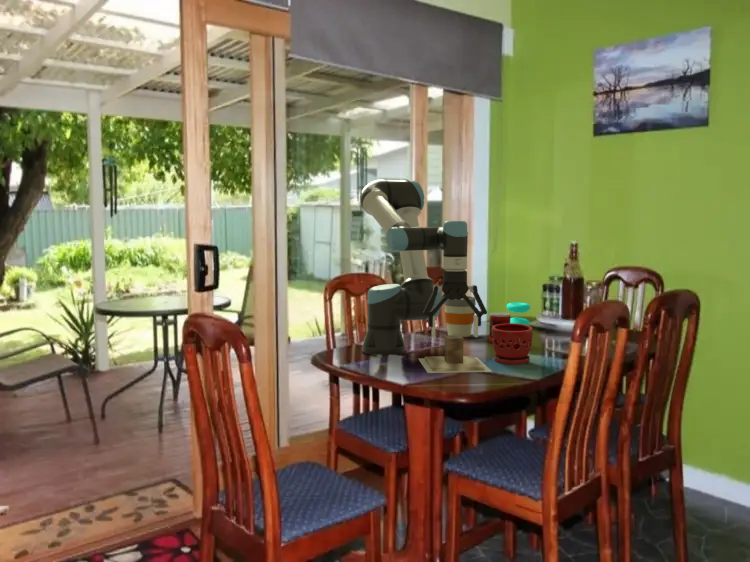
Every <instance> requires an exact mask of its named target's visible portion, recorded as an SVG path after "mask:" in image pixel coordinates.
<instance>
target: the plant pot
mask: <svg viewBox="0 0 750 562" xmlns="http://www.w3.org/2000/svg"><path fill="white" fill-rule="evenodd" d="M533 333H534V331H533V327H532V326H530V325H529V326H528V325H524V324H512V323H507V324H497V325H494V326H493V327H492V343H491V344H492V348H493V350H494V352H495V354H494V355H493V359H494V361H496V362H497V363H500V364H503V365H523V364H527V363H528V362H530V360H531V356H530V355H529V353H530V352H531V349H532V344H533V335H534V334H533ZM497 341H498V342H497Z"/></svg>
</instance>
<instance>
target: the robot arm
mask: <svg viewBox="0 0 750 562" xmlns="http://www.w3.org/2000/svg"><path fill="white" fill-rule="evenodd" d="M359 197H360V198H359V201H360V206H361V208H362V209H363V210H364V212H365V213H366V214H367V215H369V216H372V217H373V219H374V220H375V222H377V224H378V225H379V226H380V227H381V229H383V231H384V232H385V233H386V236H385V241H386V245H387V248H388V249H389V250H390V251H395V252H399V255H400V256H399V257H400V261H401V268H402V273H403V280H404V281H402V283H401V285H400V284H399V283H391V284H390V283H387V284H380V285H375V286H373V287H371V288H369V290H368V291H367V300H366V304H367V306H366V307H367V327H366V328H367V330H366V333H365V336H364V338H363V339H364V340H363V343H362V348H361V349H362V353H363V354H367V355H371V356H379V355H380V356H388V355H389V356H392V355H400V354H403V353H405V352H406V343H405V340H404V337H403V334H402V329H401V325H402V324H401V323H402V322H407V321H408V322H409V321H427V320H428V323H427V325H428V326H429V328H431V338H432V339H436V319H437V317H438V316H439V314H440V313H441V310H442V307H443V306H444V302H445V301H447V299H450V300H454V299H457V300H460V299H462V298H463V299H464V300H465V302H466V303H467V304H468V305H469V306H470V308H471V309H472V310H473V311H474V312H475V315H474V322H473V336H474V338H478V337H479V327H481V326H482V316H484V315H487V314H488V311H487V309H486V307H485V305H484V302H483V299H482V298H481V296H480V294H479V293H478V291H479V290H478V286H477V285H475V284H472V285H468V271H467V269H468V243H469V241H468V239H469V238H468V237H469V232H468V222H467V221H465V220H464V221H463V220H445V221H444V222H443V226H430V227H429V226H424V227H423V226H420V225H419V224H420V223H419V219H418V217H419V216H420V214H421V211H422V210H423V208H424V206H425V193H424V190H423V188H422V186H421V184H420V183H419V182H418V181H416V180H409V179H400V180H399V179H376V180H373V181H370V182H369V183H367V185H365V186H364V187H363V189H362V191H361V193H360V196H359ZM424 251H442V252H443V253H442V254H443V255H442V256H443V257H442V258H443V259H442V260H443V262H442V263H443V264H442V266H443V267H442V268H443V272H442V279H443V280H442V286H437V285H435V284H434V280H433V278H431V277H429V275H428V270H427V263H426V259H425V258H426V256H425V253H424ZM468 291H470V293H472V295H473V297H475V302H476V304H477V305H478V307H479V309H480V310H479V309H478V308H477V307H476V305H474V304H473V303H472V302H471V301H470V299H469V298H468V297H467V296H468V295H467V292H468Z"/></svg>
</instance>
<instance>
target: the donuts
mask: <svg viewBox="0 0 750 562" xmlns="http://www.w3.org/2000/svg"><path fill="white" fill-rule="evenodd" d="M506 309H507V311H509V312H510V313H514V314H515V313H516V314H522V313H523V314H524V313H526V312H529V311H530V310H531V305H530V304H529V303H526V302H509V303H507V304H506ZM510 323H512V324H524V325H528V326H530V325H531V323H530V320H529V319H527V318H525V317H510Z"/></svg>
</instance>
